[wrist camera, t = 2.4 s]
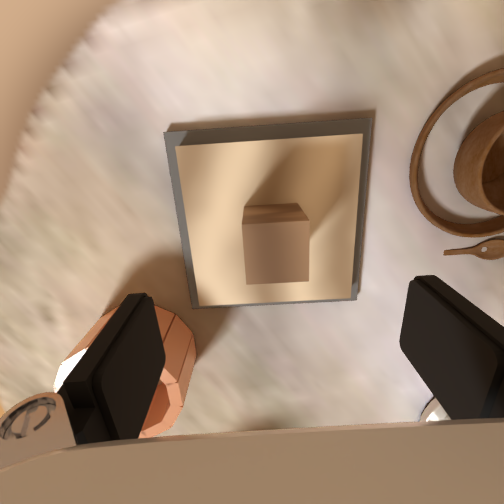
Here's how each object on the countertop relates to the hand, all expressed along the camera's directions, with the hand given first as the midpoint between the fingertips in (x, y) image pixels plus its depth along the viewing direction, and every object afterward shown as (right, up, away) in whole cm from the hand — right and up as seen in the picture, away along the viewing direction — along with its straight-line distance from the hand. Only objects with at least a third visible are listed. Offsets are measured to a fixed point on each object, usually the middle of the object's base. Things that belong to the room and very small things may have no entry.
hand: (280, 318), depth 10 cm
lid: (0, +5, +13) cm, 14 cm away
